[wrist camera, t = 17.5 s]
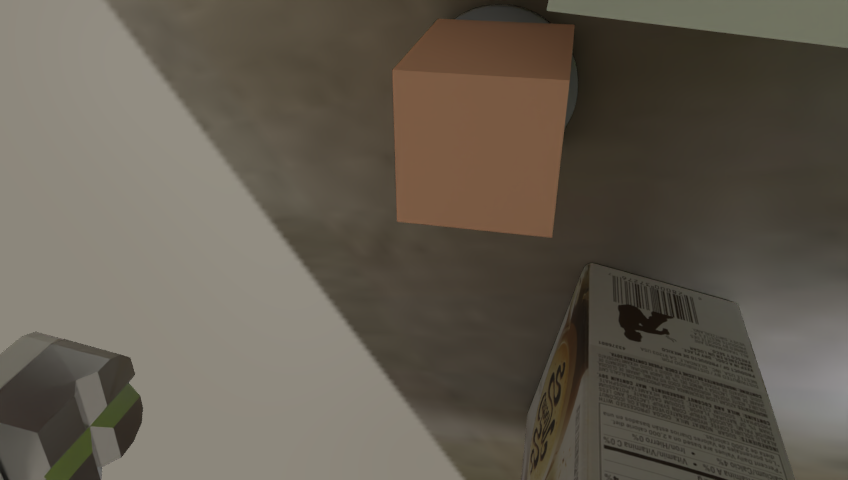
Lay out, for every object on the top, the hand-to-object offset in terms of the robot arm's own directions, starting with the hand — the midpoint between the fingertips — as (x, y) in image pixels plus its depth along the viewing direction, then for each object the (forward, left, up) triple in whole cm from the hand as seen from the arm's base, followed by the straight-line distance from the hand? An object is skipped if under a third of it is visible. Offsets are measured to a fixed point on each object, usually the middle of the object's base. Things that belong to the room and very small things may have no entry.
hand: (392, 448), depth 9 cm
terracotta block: (0, 0, -16) cm, 16 cm away
